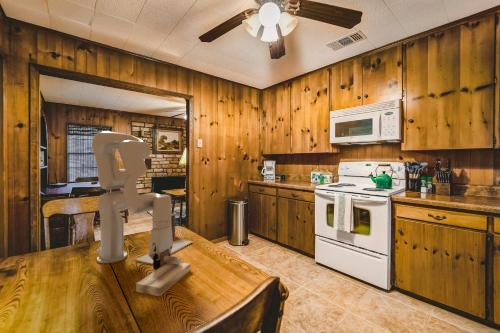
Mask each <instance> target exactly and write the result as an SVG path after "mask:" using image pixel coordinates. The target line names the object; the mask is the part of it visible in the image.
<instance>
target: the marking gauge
mask: <svg viewBox="0 0 500 333" xmlns="http://www.w3.org/2000/svg"><path fill="white" fill-rule="evenodd" d="M157 255H158V254H156V256H157ZM181 259H182V258H181V257H180V256H179V257H178V256H172V255H170V256H169V249H167V250H165V251H163V252H161V253H160V259H159V260H160V267H161V266H163V265H164V264H166V263H172V264H179V263H181V262H182V260H181ZM153 270H154V271H155V270H157V269H153ZM154 271H153V272H154Z"/></svg>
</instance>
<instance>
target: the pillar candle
mask: <svg viewBox="0 0 500 333" xmlns="http://www.w3.org/2000/svg"><path fill="white" fill-rule="evenodd" d="M171 227H172V237H174V236H175V237H176V214H175V213H172V212H171ZM175 237H174V238H175Z"/></svg>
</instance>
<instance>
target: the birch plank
mask: <svg viewBox="0 0 500 333" xmlns="http://www.w3.org/2000/svg"><path fill="white" fill-rule="evenodd" d="M190 271H191V263H189V262H182V261H181V263H179V264H172V263H166V264H164V265H163V266H161V267H160V268H158V269H157V270H155V271H152V272H151V273H149V274H148V275H146V276H145V277H143V278H142V279H140V280H139V281H137V282H136V283H135V286H136V287H135V292H138V293H141V294H147V295H152V296H157V297H161V296H162V295H164V293H166V292H167V291H168V290H169V289H171V288H172V287H173V286H174V285H175V284H176V283H178V282H179V281H180V280H181V279H183V278H184V277H185V276H186V275H188V274H189V272H190Z"/></svg>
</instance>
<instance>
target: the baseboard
mask: <svg viewBox="0 0 500 333" xmlns="http://www.w3.org/2000/svg"><path fill="white" fill-rule="evenodd" d="M177 239H178V240H177ZM177 239H176V240H175V241H173V242H174V244H173V246H172V249H171V253H170V256H172V255H173V254H174V253H176V252H178V251H180V250H182V248H183V249H184V248H186V247H188V246H190V245H191V244H190V243H192V242H193V243H194V240H191V239H189V240H188V239H187V237H185V239H182V238H180V237H179V236H178V238H177ZM193 243H192V244H193ZM189 244H190V245H189ZM187 245H188V246H187ZM185 246H186V247H185ZM156 252H157V251H156ZM148 254H149V253H147V254H144V255H142V256H140V257H137V258H136V259H134V260H133V261H134V262H137V263H141V264H145V265H150V266H153V260H152V258H151V257H150V256H149V255H148Z"/></svg>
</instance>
